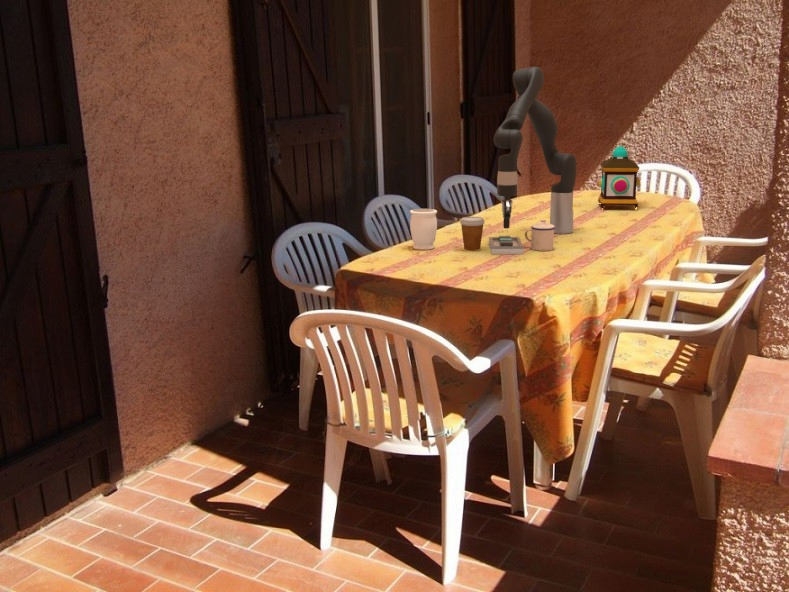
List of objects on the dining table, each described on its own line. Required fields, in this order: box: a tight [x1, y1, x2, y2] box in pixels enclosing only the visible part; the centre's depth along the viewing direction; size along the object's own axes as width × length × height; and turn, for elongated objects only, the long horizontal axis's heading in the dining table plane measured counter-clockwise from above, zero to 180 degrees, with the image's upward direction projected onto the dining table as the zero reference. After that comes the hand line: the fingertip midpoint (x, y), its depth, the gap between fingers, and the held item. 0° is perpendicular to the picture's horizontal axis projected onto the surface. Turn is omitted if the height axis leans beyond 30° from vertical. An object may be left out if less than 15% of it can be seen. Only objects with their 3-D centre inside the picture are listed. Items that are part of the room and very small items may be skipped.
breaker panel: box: [488, 236, 524, 255], centre depth 343 cm, size 12×18×3 cm, turn 177°
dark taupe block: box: [501, 241, 513, 246], centre depth 338 cm, size 4×3×2 cm
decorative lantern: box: [597, 146, 641, 209], centre depth 428 cm, size 20×20×30 cm
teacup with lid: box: [524, 218, 555, 252], centre depth 342 cm, size 12×9×12 cm
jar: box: [409, 208, 438, 251], centre depth 346 cm, size 11×10×15 cm
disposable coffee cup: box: [459, 216, 485, 251], centre depth 343 cm, size 10×10×12 cm
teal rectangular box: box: [500, 238, 512, 244], centre depth 342 cm, size 4×3×2 cm
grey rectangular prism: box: [498, 235, 512, 241], centre depth 347 cm, size 4×3×2 cm
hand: (506, 228), depth 337 cm, fingers closed
